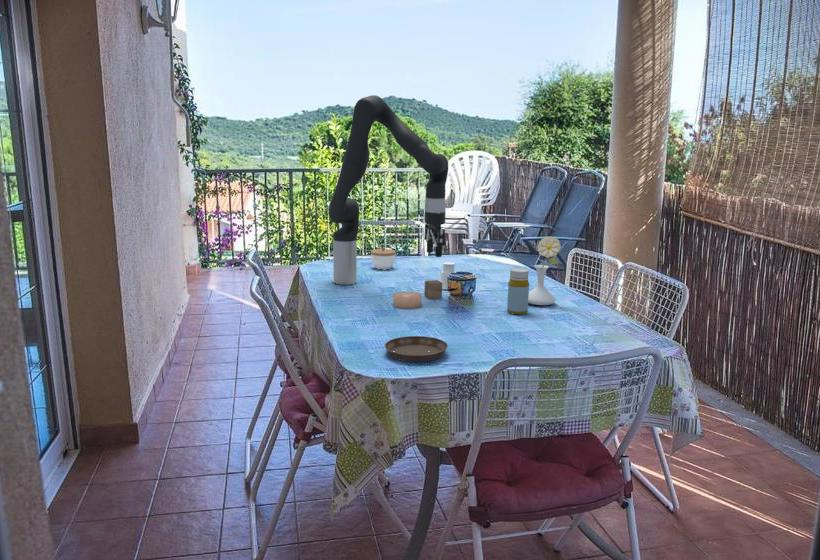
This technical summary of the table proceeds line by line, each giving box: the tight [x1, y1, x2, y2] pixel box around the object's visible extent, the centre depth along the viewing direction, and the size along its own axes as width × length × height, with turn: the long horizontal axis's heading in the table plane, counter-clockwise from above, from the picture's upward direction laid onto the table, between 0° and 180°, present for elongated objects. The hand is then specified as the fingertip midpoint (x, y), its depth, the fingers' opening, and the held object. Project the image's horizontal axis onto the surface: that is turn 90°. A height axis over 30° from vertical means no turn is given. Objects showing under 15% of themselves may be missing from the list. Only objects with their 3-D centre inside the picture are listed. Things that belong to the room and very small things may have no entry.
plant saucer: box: [384, 335, 449, 362], centre depth 208 cm, size 18×18×3 cm
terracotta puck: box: [392, 290, 423, 310], centre depth 260 cm, size 10×10×4 cm
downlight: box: [440, 262, 457, 290], centre depth 286 cm, size 8×7×10 cm
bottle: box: [506, 267, 530, 315], centre depth 252 cm, size 7×7×15 cm
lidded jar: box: [370, 246, 397, 270], centre depth 320 cm, size 11×11×9 cm
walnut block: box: [423, 279, 443, 300], centre depth 272 cm, size 5×5×6 cm
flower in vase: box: [528, 235, 562, 306], centre depth 263 cm, size 13×11×25 cm
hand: (434, 254), depth 269 cm, fingers open, 8 cm apart
